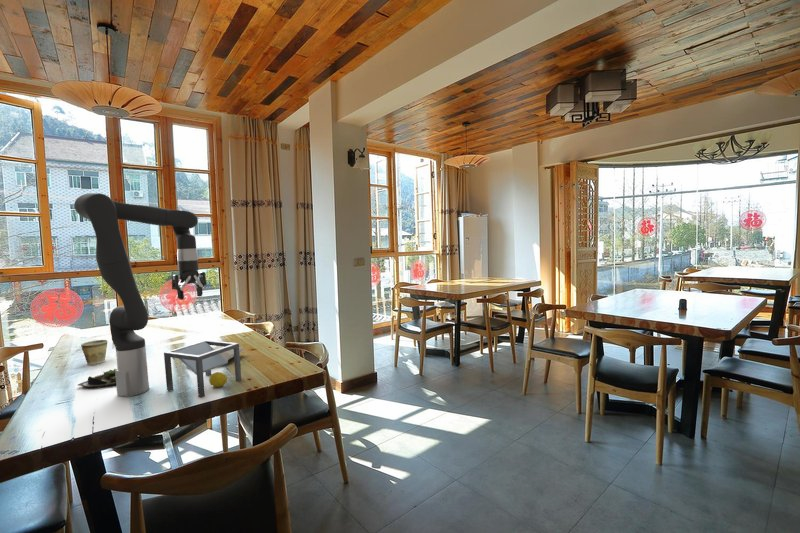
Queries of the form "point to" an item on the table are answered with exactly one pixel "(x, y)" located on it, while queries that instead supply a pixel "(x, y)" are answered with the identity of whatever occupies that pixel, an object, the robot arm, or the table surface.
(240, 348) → the rock
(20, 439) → the table surface
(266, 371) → the table surface
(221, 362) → the trapdoor
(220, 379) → the lemon
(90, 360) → the ceramic cup
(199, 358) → the trapdoor frame
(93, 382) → the salad plate
